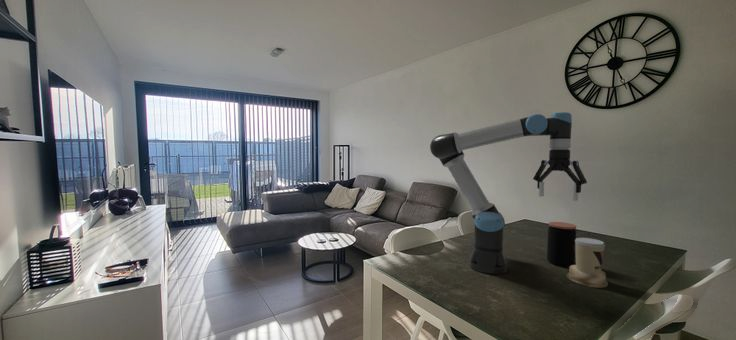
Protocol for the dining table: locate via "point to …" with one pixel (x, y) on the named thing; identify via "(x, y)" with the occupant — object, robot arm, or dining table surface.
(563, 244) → the coffee jar
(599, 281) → the pedestal
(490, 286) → the dining table surface
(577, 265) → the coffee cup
